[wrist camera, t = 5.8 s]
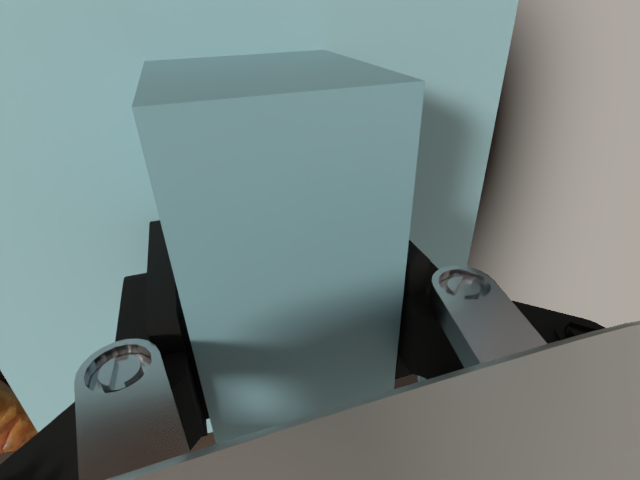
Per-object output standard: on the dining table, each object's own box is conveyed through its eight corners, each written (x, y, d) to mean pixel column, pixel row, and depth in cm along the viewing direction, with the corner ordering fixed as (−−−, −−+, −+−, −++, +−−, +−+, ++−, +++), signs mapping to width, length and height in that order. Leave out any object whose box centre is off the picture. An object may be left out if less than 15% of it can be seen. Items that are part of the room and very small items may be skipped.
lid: (-175, -65, 8) (-943, -211, 2) (474, -58, 12) (753, -109, 6) (75, 419, 15) (27, 653, 10) (421, 327, 19) (525, 459, 14)
